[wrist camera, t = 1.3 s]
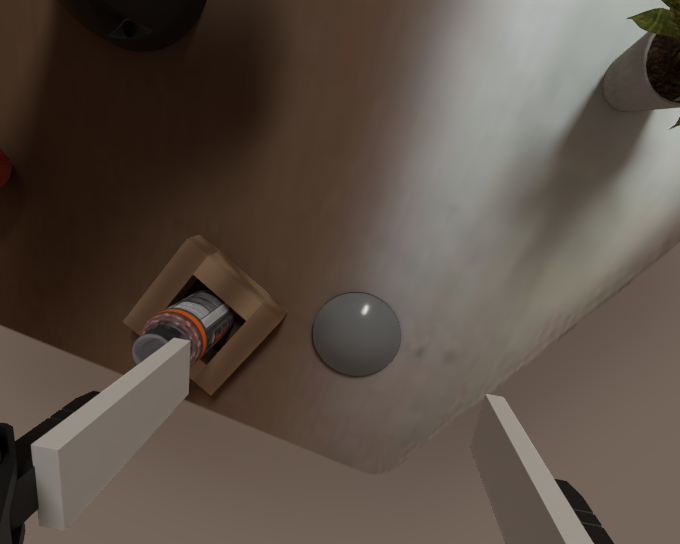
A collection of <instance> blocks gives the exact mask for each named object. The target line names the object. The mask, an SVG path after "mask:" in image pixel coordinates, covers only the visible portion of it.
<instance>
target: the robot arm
mask: <svg viewBox="0 0 680 544" xmlns="http://www.w3.org/2000/svg"><path fill="white" fill-rule="evenodd" d="M59 1H60V2H61V3H62V4H63V6H64V7H65V8H66V9H67V10H68V11H69V12H70V13H71V14H72V15H73V16H74V17H75V18H76V19H77V20H78V21H79V22H80V23H81V24H82V25H84V26H85V27H86V28H88V29H89V30H90V31H92V32H94V33H95V34H97V35H99V36H100V37H102V38H104V39H106V40H107V41H109V42H111V43H113V44H115V45H117V46H119V47H122V48H125V49H129V50H135V51H150V50H156V49H160V48H163V47H165V46H167V45H169V44H171V43H173V42H175V41H176V40H178V39H179V38H180V37H181V36H183V35H184V34H185V33H186V32H187V31H188V30H189V28H190V27H191V26H192V25H193V23H194V22H195V20H196V19H197V17H198V16H199V14H200V12H201V10H202V7H203V5H204V2H205V0H59ZM189 368H190V340H184V339H179V338H173V339H172V340H170V341H169V342H168V343H166V344H165V345H164V346H162V347H161V348H160V349H158V350H157V351H156V352H154V353H153V354H152V355H150V356H149V357H148V358H146V359H145V360H144V361H142V362H141V363H140V364H138V365H137V366H136V367H134V368H133V369H132V370H130V371H129V372H128V373H126V374H125V375H124V376H122V377H121V378H120V379H118V380H117V381H116V382H114V383H113V384H112V385H110V386H109V387H107V388H106V389H105V390H103V391H102V392H97V391H92V392H90V393H88V394H85V395H83V396H80V397H78V398H76V399H75V400H73V401H72V402H70V403H69V404H67V405H66V406H65V407H63V408H62V410H59V411H58V412H56V413H55V414H53V415H52V416H51V418H50V419H49V418H48V419H46V420H45V421H43V422H42V423H41V424H39V425H38V426H36V427H35V428H33V429H32V430H31V431H29V432H28V433H26V434H25V435H24V436H22V437H21V438H20V439H18V440H16V441H15V440H14V432H13V427H12V426H11V425H9V424H7V423H0V544H23V540H24V535H25V524H24V522H25V521H26V520H27V519H28V518H29V517H30V516H31V515H32V514H33V513H34V512H35V511H36V510H37V509H38V518H39V525H40V526H44V527H48V528H53V529H58V530H62V531H65V530H66V529H67V528H68V527H69V526H70V524H71V523H72V522H73V521H74V520H75V519H76V518H77V517H78V516H79V515H80V513H81V512H82V511H83V510H84V509H85V508H86V507H87V506H88V505H89V503H90V502H91V501H92V500H93V499H94V498H95V497H96V496H97V495H98V493H99V492H100V491H101V490H102V489H103V488H104V487H105V486H106V485H107V484H108V482H109V481H110V480H111V479H112V478H113V477H114V476H115V475H116V474H117V472H118V471H119V470H120V469H121V468H122V467H123V466H124V465H125V464H126V463H127V461H128V460H129V459H130V458H131V457H132V456H133V455H134V454H135V453H136V452H137V450H138V449H139V448H140V447H141V446H142V445H143V444H144V443H145V442H146V440H147V439H148V438H149V437H150V436H151V435H152V434H153V433H154V431H155V430H156V429H157V428H158V427H159V426H160V425H161V424H162V423H163V422H164V421H165V419H166V418H167V417H168V416H169V415H170V414H171V413H172V412H173V411H174V409H175V408H176V407H177V406H178V405H179V404H180V403H181V402H182V401H183V400H184V398H185V397H186V396H187V395H188V394H189ZM470 448H471V451H472V454H473V457H474V459H475V462H476V465H477V467H478V470H479V473H480V476H481V478H482V481H483V484H484V486H485V489H486V492H487V495H488V497H489V500H490V503H491V506H492V508H493V511H494V514H495V517H496V519H497V522H498V524H499V527H500V530H501V533H502V536H503V538H504V541H505V544H614V543H613V541H612V540H611V538H610V537H609V536H608V534H607V532H606V531H605V530H604V528H602V527H601V523H600V522H599V521H598V519H597V518H596V516H595V515H593V513H592V510H591V509H590V507H589V506H588V504H587V503H586V501H585V500H584V498H583V497H582V496H581V495H580V494H579V493H578V492H577V491H576V490H575V489H574V488H573V487H572V486H571V485H570V484H569V483H568V482H567V481H563V480H558V479H554V478H553V477H552V475H551V473H550V472H549V470H548V469H547V467H546V465H545V464H544V462H543V460H542V459H541V457H540V455H539V454H538V452H537V451H536V449H535V447H534V446H533V444H532V442H531V441H530V439H529V438H528V436H527V434H526V433H525V431H524V429H523V428H522V426H521V425H520V423H519V421H518V420H517V418H516V417H515V415H514V413H513V412H512V410H511V408H510V407H509V405H508V403H507V402H506V400H505V399H504V397H500V396H495V395H489V394H485V397H484V400H483V404H482V407H481V411H480V414H479V418H478V421H477V425H476V428H475V432H474V436H473V439H472V443H471V446H470Z"/></svg>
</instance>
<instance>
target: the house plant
mask: <svg viewBox="0 0 680 544" xmlns="http://www.w3.org/2000/svg"><path fill="white" fill-rule="evenodd" d="M662 1H663V2H664V3H665V4H666V5H667V6H668V7H670V10H667V9H664V8H658V9H652V10H649V11H646V12H643V13H640V14H638V15H635V16H632V17H629V18H626V19H633V21H634V22H635V23H636V24H637V25H638V26H639V27H640V28H642V29H644V30H646V31H648V32H647V33H646V34H645V35H644V36H643V37H641V38H640V39H639V40H638V41H637V42H636V43H634V44H633V45H632V46H631V47H630V48H628V49H627V50H626V51H625V52H624V53H623V54H621V55H620V56H619V57H618V58H617V59H616V60H615V61H614V62H613V63H612V64H611V65H610V67H609V69H608V70H607V72H606V74H605V77H604V80H603V92H604V96H605V98H606V100H607V102H608V103H609V104H610V105H611V106H612V107H613V108H615V109H617V110H619V111H624V112H631V111H643V110H654V109H666V108H678V107H680V0H662ZM679 125H680V118H679V120H678V121H677V123H676V124H675V125H674V126H673V127H671V128H674V127H676V126H679ZM671 128H670V129H671Z"/></svg>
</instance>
